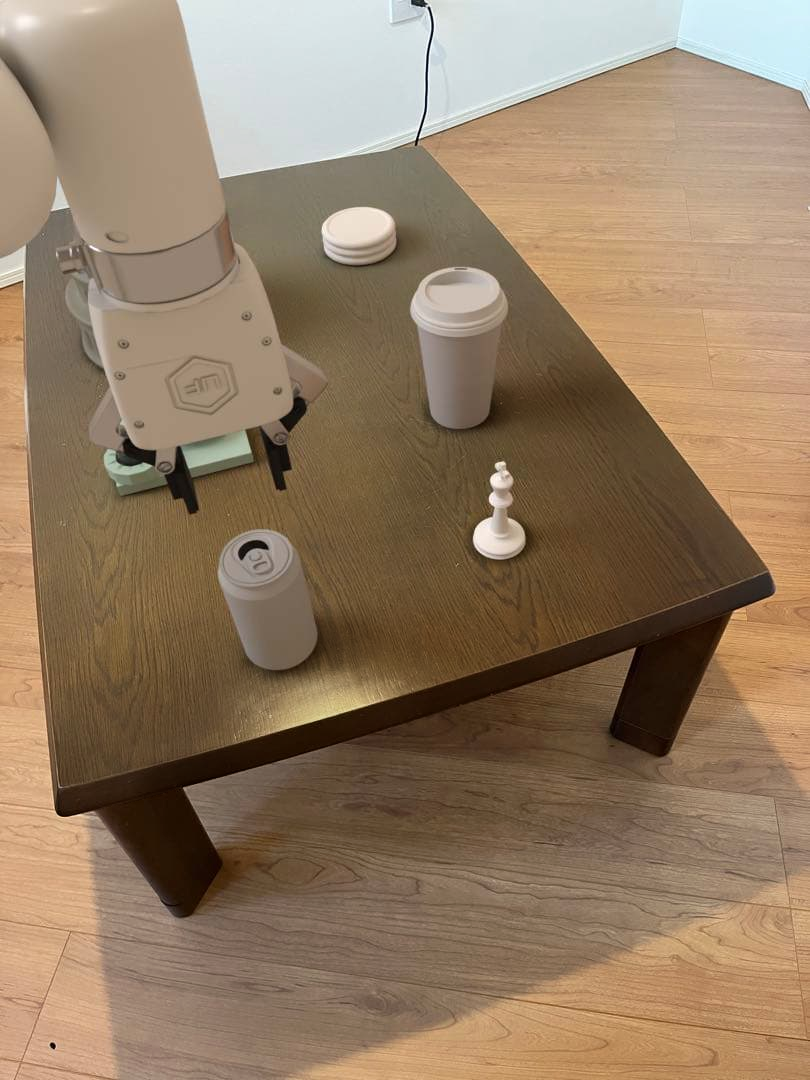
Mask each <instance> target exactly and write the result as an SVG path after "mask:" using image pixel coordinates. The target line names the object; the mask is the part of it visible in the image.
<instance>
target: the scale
mask: <svg viewBox="0 0 810 1080" xmlns="http://www.w3.org/2000/svg"><path fill="white" fill-rule="evenodd" d="M139 423H140V422H139ZM137 424H138V423H137ZM140 424H141V423H140ZM120 425H123V426H124V424H123V421H121V422H120ZM124 427H125V426H124ZM181 449H182V452H183V454H184V457H185V460H186V463H187V466H188V468H189V471H190V474H191V477H192V479H193V478H197V477H200V476H205V475H209V474H213V473H215V472H220V471H224V470H228V469H232V468H236V467H239V466H244V465H248V464H253V463H254V462H255V458H254V455H253V452H252V448H251V445H250V441H249V439H248V435H247V430H246V429H245V430H242V431H238V432H234V433H230V434H226V435H222V436H218V437H214V438H210V439H206V440H202V441H197V442H193V443H189V444H185V445H181ZM103 463H104V468H105V470H106V473H107V475H108V476H109V478H111V480H113V481H114V482H115V485H116V486H115V487H116V489H117V491H118V493H119V495H120V496H121V497H122V496H123V497H124V496H126V495H130V494H134V493H138V492H142V491H146V490H149V489H154V488H157V487H162V486H166V485H168V484H167V481H166V479H165V476H164V474H160V473H158V472H157V471H156V469H155V466H152V465H149V464H146V463H144V462H143V463H142V464H139V465H135V466H125V465H123V464H122V463H121V462H120V460H119V458H118V456H117V454H116V451H114V450H111V449H108V448H107V449H106V451H105V453H104V455H103Z"/></svg>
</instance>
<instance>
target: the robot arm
mask: <svg viewBox="0 0 810 1080" xmlns="http://www.w3.org/2000/svg"><path fill="white" fill-rule="evenodd" d="M182 16H183V15H182V14H181V10H180V6H179V3H178V1H177V0H0V259H3V258H5V257H9V256H11V255H13V254H14V253H16V252H18V251H19V250H20V249H22V248H24V247H25V246H27V245H28V244H29V243H30V242H32V240H33V239H35V237H36V236H37V235H38V234H39V233H40V232H41V231H42V229H43V228H44V226H45V224H46V222H47V221H48V220H49V218H50V216H51V212H52V210H53V207H54V204H55V200H56V196H57V186H58V181H59V184H60V186H61V190H62V192H63V194H64V195H63V196H64V197H65V199H66V202H67V205H68V208H69V211H70V213H71V216H72V218H73V219H74V221H75V224H76V226H77V229H78V231H79V234H77V235H75V236H76V241H75V242H72V241H71V242H68V245H65V246H60V247H56V248H55V249H54V250H55V254H56V255H55V257H56V259H57V262H58V266H59V268H60V270H61V272H62V275H65V276H66V275H70V273H75V272H78V273H79V274H83V273H87V275H88V277H89V279H90V278H91V280H90V282H89V287H88V289H89V291H88V304H89V311H90V318H91V322H92V327H93V332H94V336H95V340H96V344H97V347H98V350H99V354H100V357H101V360H102V364H103V367H104V369H103V370H104V373H105V376H106V379H107V381H108V385H109V386H108V388H107V390H106V391H105V393H104V394H103V397H102V399H101V401H100V403H99V405H98V406H97V408H96V410H95V412H94V414H93V415H92V417H91V419H90V420H89V422H88V424H87V431H88V440H89V442H90V443H91V444H92V445H94V446H97V447H101V448H104V449H107V450H108V449H111V450H114V451H118V450H119V451H122V452H124V454H125V455H126V456H128V457H130V458H133V459H135V460H138V461H141V462H144V463H146V464H149V465H152V466H155V469H156V471H157V472H158V473H160V474H164V476H165V479H166V481H167V484H166V485H167V486H168V489H169V491H170V494H171V496H172V499H173V500H174V501H177V500H179V499H180V500H181V499H182V500H183V502H184V504H185V507H186V509H187V512H188V515H189V516H190V515H194V514H198V511H200V506H199V501H198V497H197V492H196V487H195V483H194V480H193V478H192V477H191V474H190V471H189V468H188V466H187V463H186V460H185V457H184V454H183V452H182V449H181V445H185V444H189V443H193V442H197V441H202V440H206V439H210V438H214V437H218V436H222V435H226V434H230V433H234V432H238V431H242V430H245V431H246V430H248V429H253V428H257V427H258V429H259V432H260V437H261V440H262V444H263V447H264V451H265V452H264V453H265V456H266V460H267V464H268V468H269V470H270V474H271V477H272V481H273V484H274V487H275V490H276V491H279V492H282V491H286V490H288V488H287V484H286V483H287V482H286V479H285V475H284V473H285V472H288V471H292V470H293V467H292V462H291V457H290V454H289V453H290V452H289V449H288V445H287V444H288V442H290V441H291V440H290V439H291V434H290V433H291V432H292V430H293V429H294V428H295V427H296V425H297V424H298V423H299V422H300V421H301V419H302V418H303V417H304V415H306V413H307V411H308V406H309V405H311V404H313V403H314V402H315V401H316V400H317V398H318V397H319V396H320V395H321V394H322V393H323V392H324V391H325V390H326V389H327V387H328V385H329V382H328V379H327V377H326V375H325V372H324V370H323V368H322V367H320V366H319V365H317V364H315V363H314V362H312V361H310V360H309V359H307V358H306V357H304V356H302V355H300V354H299V353H297V352H296V351H294V350H292V349H290V348H289V347H288V346H286V345H285V344H283V343H282V342H281V337H280V334H279V330H278V327H277V324H276V323H277V322H276V318H275V315H274V313H273V310H272V306H271V303H270V300H269V297H268V294H267V292H266V289H265V287H264V284H263V281H262V279H261V276H260V274H259V272H258V270H257V268H256V266H255V264H254V262H253V260H252V258H251V257H250V255H249V253H248V252H247V250H246V249H245V248H244V247H243V246H242V245H240V244H238V243H236V242H235V239H234V235H233V229H232V227H231V221H230V218H229V214H228V210H227V209H228V208H227V205H226V202H225V197H224V192H223V189H222V183H221V179H220V175H219V171H218V167H217V163H216V159H215V154H214V149H213V145H212V141H211V137H210V132H209V129H208V124H207V119H206V114H205V111H204V105H203V102H202V98H201V97H202V96H201V93H200V89H199V84H198V79H197V76H196V71H195V68H194V62H193V58H192V54H191V48H190V45H189V40H188V36H187V32H186V27H185V24H184V19H183V17H182ZM291 380H292V381H294V383H293V386H292V382H291ZM121 421H123V424H124V426H125V427H124V426H123V425H120V422H121ZM139 422H140V423H141V424H140V423H139ZM137 423H138V424H137Z"/></svg>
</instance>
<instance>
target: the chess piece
mask: <svg viewBox="0 0 810 1080" xmlns="http://www.w3.org/2000/svg"><path fill="white" fill-rule="evenodd" d="M494 469H496V470H497V472H495V473H493V474H492V475H491V477H490V479H489V483H490V486H491V488H492V490H493V491H492V492H491V493H490V494H489V496H488V502H489V504H490V505H491V506H492V507H494V509H493V514H492V516H491V517H487V518H485V519H483V520H482V521H480V522H479V523H478V524H477V525H476V527H475V528H474V532H473V536H472V543H473V546H474V548H475V549H476V551H478V553H480V554H481V555H482V556H484V557H486V558H489V559H491V560H502V561H503V560H508V559H512V558H514V557H516V556H518V555H519V554H520V553H521V552H522V551H523V549H524V547H525V546H526V534H525V533H526V532H525V530H524V527H522V525H521V524H520V523H519V522H518V521H516V520H515V519H513V518H510V517H508V511H507V508H508V507H510V506H511V505H512V504H513V502H514V497H513V495H512V493H511V492H510V490H511V488H512V487H513V484H514V477H513V476H512V475H511V473H510V472H509V471H508V470H507V463H506V462H505V461H504V460H502V461H498V462H496V463H494Z"/></svg>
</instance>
